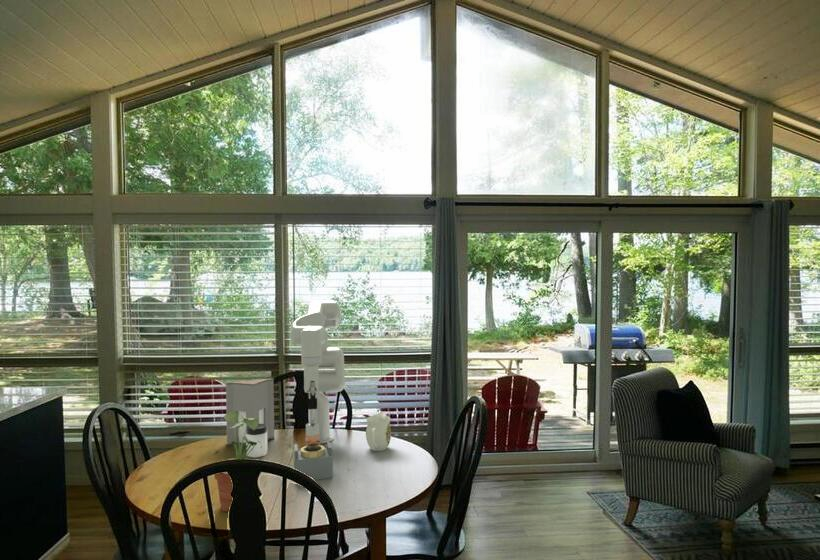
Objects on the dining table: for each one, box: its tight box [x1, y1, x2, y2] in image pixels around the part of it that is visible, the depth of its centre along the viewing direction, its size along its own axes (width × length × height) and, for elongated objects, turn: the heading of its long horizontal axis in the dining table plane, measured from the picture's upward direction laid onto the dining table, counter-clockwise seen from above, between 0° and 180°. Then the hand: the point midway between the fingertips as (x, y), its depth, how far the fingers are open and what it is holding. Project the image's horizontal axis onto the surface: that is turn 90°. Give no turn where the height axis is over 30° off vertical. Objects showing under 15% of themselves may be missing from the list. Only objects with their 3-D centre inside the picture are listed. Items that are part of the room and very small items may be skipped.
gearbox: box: [293, 441, 334, 481], centre depth 196 cm, size 10×14×11 cm
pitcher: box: [365, 412, 392, 452], centre depth 224 cm, size 11×18×14 cm, turn 169°
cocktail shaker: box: [305, 418, 321, 452], centre depth 196 cm, size 5×5×13 cm
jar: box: [245, 424, 268, 459], centre depth 220 cm, size 9×8×12 cm
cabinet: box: [225, 378, 275, 447], centre depth 234 cm, size 21×10×28 cm, turn 114°
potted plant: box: [214, 412, 261, 512], centre depth 171 cm, size 16×15×35 cm
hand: (312, 405), depth 196 cm, fingers open, 9 cm apart
